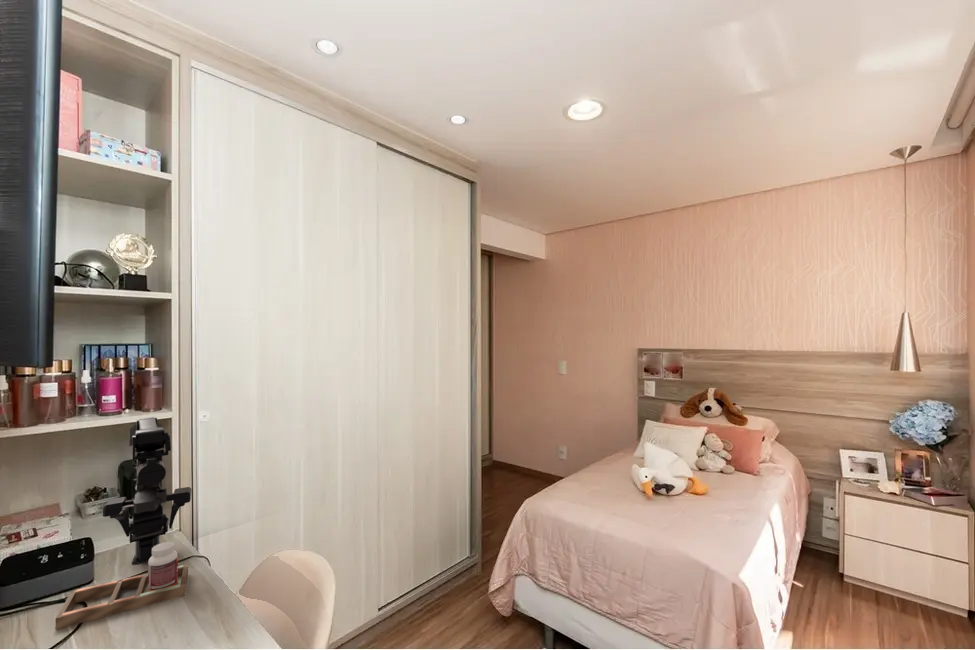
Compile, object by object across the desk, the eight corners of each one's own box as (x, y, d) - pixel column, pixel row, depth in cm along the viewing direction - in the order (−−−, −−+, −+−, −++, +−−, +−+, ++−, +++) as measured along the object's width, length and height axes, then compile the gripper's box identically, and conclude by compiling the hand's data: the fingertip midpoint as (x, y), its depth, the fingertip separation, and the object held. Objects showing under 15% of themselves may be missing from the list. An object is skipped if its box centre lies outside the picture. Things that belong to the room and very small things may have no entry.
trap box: (55, 629, 98) (55, 617, 98) (70, 602, 107) (70, 591, 107) (184, 595, 110) (184, 584, 110) (188, 574, 120) (188, 563, 120)
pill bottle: (183, 584, 114) (183, 543, 114) (157, 598, 108) (158, 554, 108) (167, 579, 116) (168, 538, 116) (142, 592, 111) (142, 549, 111)
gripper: (97, 491, 107) (97, 554, 107) (188, 478, 117) (188, 536, 117) (108, 477, 117) (107, 535, 117) (191, 466, 126) (191, 519, 126)
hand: (149, 532), depth 119 cm, fingers open, 9 cm apart
